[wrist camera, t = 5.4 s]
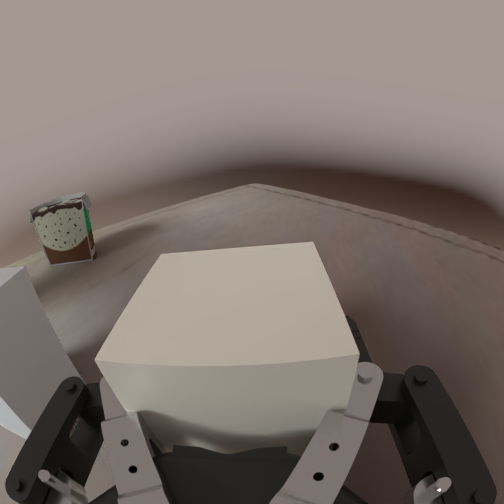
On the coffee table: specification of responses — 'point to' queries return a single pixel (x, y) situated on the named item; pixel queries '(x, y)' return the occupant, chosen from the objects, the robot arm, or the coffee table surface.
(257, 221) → the coffee table surface
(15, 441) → the coffee table surface
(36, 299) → the cover
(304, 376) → the cover
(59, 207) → the food container
